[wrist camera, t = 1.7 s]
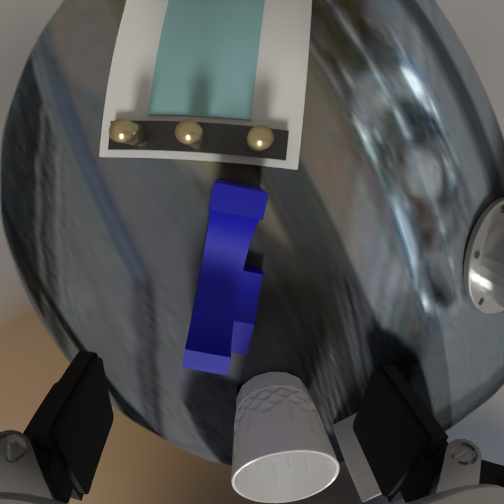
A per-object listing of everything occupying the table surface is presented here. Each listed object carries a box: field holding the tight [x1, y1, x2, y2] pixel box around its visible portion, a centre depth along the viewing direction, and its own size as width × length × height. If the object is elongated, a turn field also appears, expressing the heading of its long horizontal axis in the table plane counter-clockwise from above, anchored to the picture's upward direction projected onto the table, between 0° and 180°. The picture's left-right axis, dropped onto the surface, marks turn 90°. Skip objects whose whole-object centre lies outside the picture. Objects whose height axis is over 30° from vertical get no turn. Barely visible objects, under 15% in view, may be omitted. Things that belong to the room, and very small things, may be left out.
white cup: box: [232, 372, 339, 503], centre depth 23 cm, size 8×8×10 cm
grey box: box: [332, 413, 382, 502], centre depth 25 cm, size 4×7×10 cm, turn 119°
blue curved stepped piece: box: [182, 179, 268, 375], centre depth 21 cm, size 12×4×6 cm, turn 167°
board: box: [99, 0, 312, 170], centre depth 19 cm, size 14×18×2 cm
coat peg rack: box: [108, 118, 289, 161], centre depth 18 cm, size 12×2×4 cm, turn 84°
